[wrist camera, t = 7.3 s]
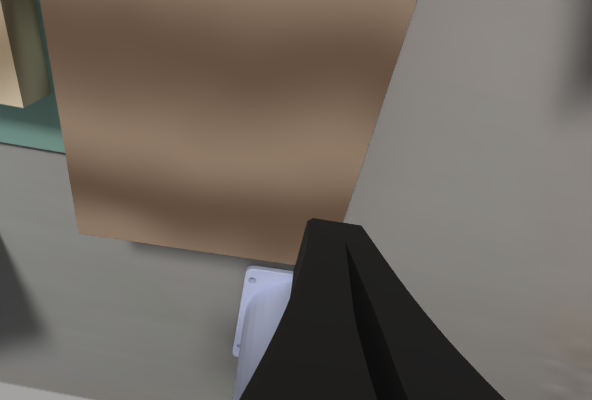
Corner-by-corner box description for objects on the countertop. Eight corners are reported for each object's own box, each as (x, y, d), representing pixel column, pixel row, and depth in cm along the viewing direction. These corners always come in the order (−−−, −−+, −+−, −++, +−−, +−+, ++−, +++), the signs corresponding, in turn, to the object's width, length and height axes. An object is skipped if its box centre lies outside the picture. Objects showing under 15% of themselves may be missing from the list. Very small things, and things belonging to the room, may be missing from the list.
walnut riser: (322, 222, 22) (327, 269, 18) (114, 189, 20) (78, 233, 17) (448, -207, 12) (509, -275, 9) (68, -322, 11) (-36, -455, 7)
